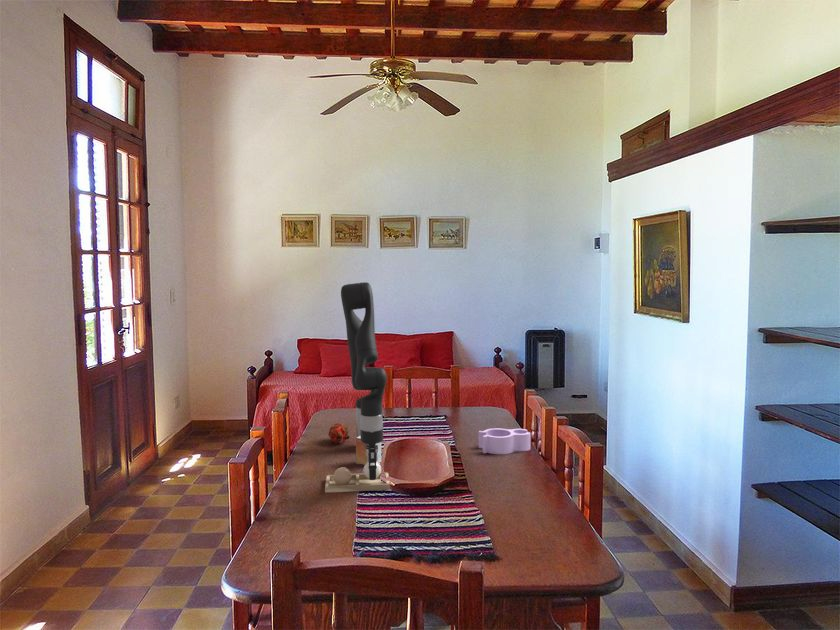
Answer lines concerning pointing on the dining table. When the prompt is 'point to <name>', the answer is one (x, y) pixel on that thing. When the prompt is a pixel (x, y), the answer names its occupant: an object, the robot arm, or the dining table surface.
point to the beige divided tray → (357, 484)
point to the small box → (364, 452)
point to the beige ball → (342, 476)
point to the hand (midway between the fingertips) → (372, 475)
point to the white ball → (366, 469)
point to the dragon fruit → (338, 433)
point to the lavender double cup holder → (504, 440)
